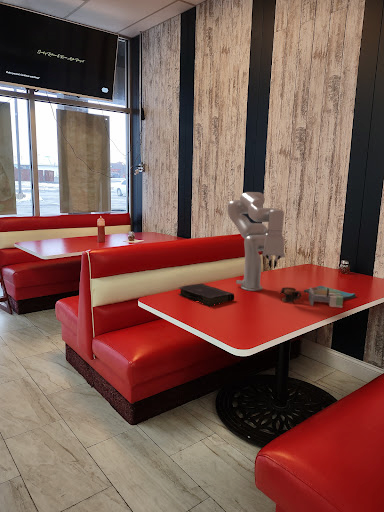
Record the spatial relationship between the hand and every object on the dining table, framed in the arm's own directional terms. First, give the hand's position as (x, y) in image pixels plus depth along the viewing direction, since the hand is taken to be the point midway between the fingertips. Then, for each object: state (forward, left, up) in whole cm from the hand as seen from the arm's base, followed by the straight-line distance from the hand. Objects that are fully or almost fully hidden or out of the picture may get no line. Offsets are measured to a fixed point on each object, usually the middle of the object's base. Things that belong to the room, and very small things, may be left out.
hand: (272, 267), depth 203 cm
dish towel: (+33, +19, -18) cm, 42 cm away
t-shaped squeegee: (+26, 0, -17) cm, 31 cm away
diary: (-34, -9, -18) cm, 40 cm away
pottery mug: (+11, 0, -17) cm, 20 cm away
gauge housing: (+33, 0, -17) cm, 37 cm away
